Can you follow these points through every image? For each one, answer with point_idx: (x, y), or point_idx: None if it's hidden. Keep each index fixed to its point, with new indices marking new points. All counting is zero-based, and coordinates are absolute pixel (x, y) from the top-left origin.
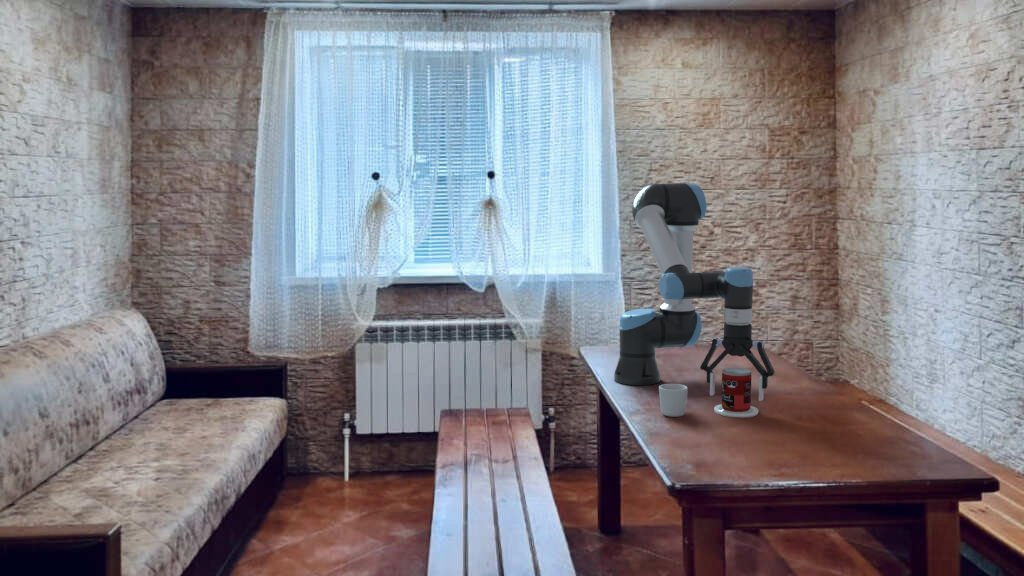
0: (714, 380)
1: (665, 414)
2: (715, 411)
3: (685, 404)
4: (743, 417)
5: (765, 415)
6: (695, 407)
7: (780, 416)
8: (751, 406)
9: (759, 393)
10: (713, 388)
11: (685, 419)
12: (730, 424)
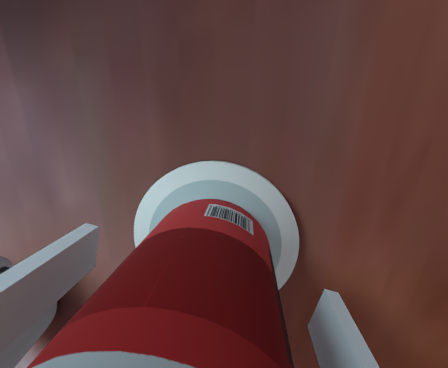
0: (27, 288)
1: None
2: None
3: (31, 340)
4: None
5: (319, 269)
6: (71, 200)
7: (375, 275)
8: (277, 198)
9: (322, 366)
10: (70, 272)
11: None
12: None
